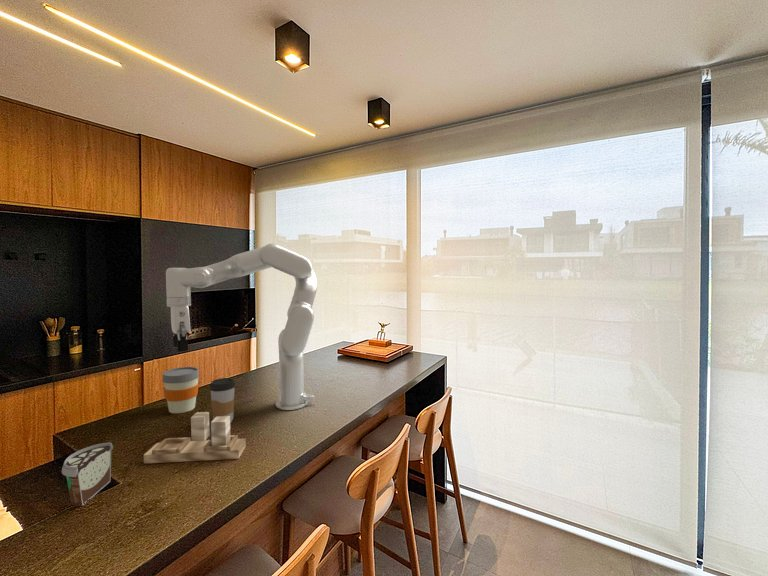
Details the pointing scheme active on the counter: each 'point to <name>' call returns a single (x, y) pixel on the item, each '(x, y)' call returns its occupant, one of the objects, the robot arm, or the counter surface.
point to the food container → (88, 472)
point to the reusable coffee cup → (181, 388)
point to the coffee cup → (222, 397)
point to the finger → (200, 426)
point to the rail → (199, 446)
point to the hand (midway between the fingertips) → (180, 348)
